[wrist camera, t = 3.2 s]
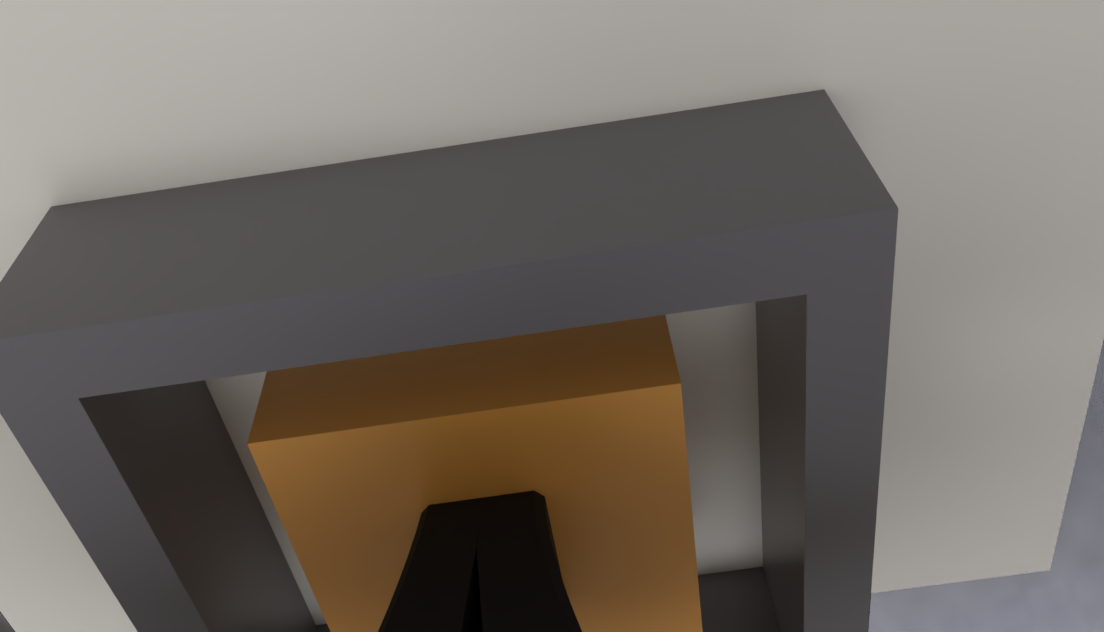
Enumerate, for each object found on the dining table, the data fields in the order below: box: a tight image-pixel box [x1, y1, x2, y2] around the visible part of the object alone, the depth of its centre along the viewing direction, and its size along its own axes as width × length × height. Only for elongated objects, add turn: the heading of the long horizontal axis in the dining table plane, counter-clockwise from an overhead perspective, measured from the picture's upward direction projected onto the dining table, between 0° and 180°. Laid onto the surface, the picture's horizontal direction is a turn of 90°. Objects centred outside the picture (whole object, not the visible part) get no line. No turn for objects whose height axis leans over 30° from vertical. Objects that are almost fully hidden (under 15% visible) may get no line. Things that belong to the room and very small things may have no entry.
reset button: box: [247, 315, 703, 632], centre depth 13 cm, size 5×5×2 cm
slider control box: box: [0, 0, 1104, 632], centre depth 11 cm, size 16×20×6 cm
